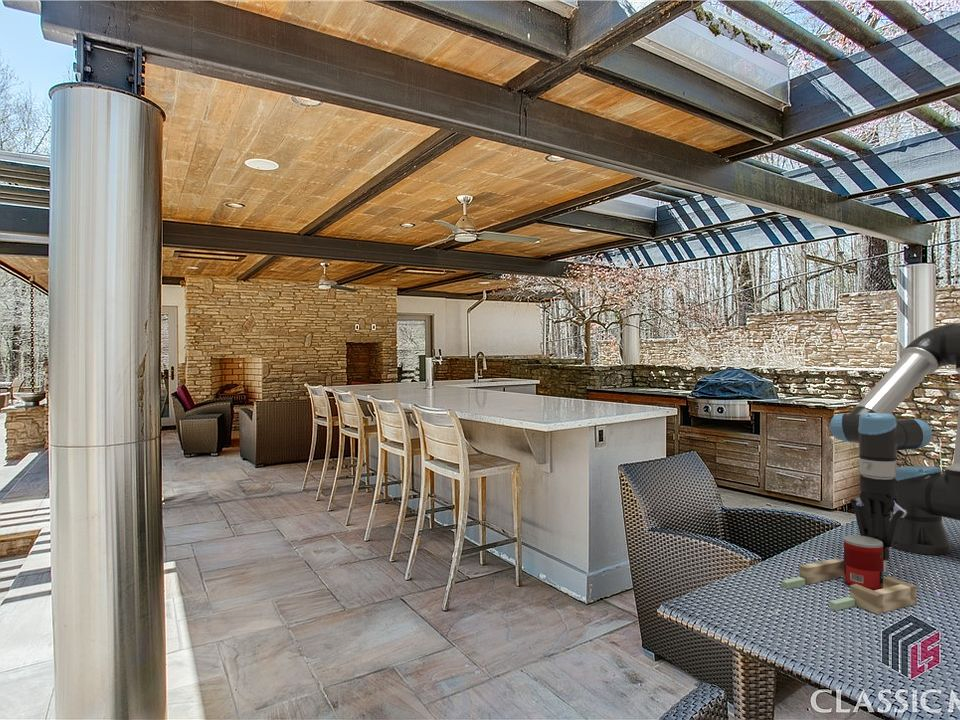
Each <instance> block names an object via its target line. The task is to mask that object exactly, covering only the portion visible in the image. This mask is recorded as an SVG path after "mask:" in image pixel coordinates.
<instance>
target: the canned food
mask: <svg viewBox="0 0 960 720" xmlns="http://www.w3.org/2000/svg"><path fill="white" fill-rule="evenodd" d="M843 561H844V577H843V578H844V582H845V583H846V585H848V586H850V585H854V584H858V585H860V586H863V587H865V588H868V589H871V590H873V591H874V590H879V589H883V578H885V574H884V573H885V572H884V558H883V542H882V541H880V540H878V539H875V538H871V537H866V536H860V535H857V534H856V535H855V534H854V535H853V534H850V535H845V536H843Z"/></svg>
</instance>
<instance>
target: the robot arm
mask: <svg viewBox="0 0 960 720" xmlns="http://www.w3.org/2000/svg"><path fill="white" fill-rule="evenodd" d="M899 353H900V354H899V359H898V361H897V362H896V363H895V364H894V365H893V366H892V367H891V368H890V369H889V371H887V372H886V373H885V375H884V376H882V378H881V379H880V380H878V382H877V383H876V384H875V385H874V386H873V388H871V390H869V392H867V394H866V395H865V396H864V397H862V399H861V400H860V401H859V402H858V403H857V405H856V406H855V407H854V408H853V409H852V410H850V412H849V413H846V412H844V413H838V414H835V415H834V416H833V417H832V418H831V420H830V423H829V429H830V433H831V435H832V436H833V437H834V438H835V439H836V440H840V441H843V442H847V443H848V442H849V443H854V444H855V443H856V444H859V445H858V447H859V454H858V455H859V459H858V460H859V461H858V462H859V463H858V464H859V473H860V474H861V475H860V476H859V490H860V493H859V497H856V498H853V499H852V498H851V499H850V501H849V503H850V505H851V506H852V508H853V509H854V513H855V514H854V515H855V519H856V524H857V525H858V526H857V527H858V531H859V536H866V537H871V538H875V539H878V540H880V541H882V542H883V558H884V573H886V572H887V561H889V560H890V548H891V547H892V548H894V549H897V550H901V551H904V552H909V553H915V554H920V555H930V556H931V555H933V556H938V555H939V556H941V555H947V554H948V555H949V554H950V553H951V550H952V549H951V541H950V540H949V537H948V535H947V532H946V529H945V527H944V525H943V518H947V519H950V520H954V521H959V522H960V400H959V401H958V414H957V423H956V434H955V441H954V442H955V443H954V452H953V453H954V455H953V463H951V464H950V465H948V466H946V467H945V472H944V474H942V473H943V471H942V469H941V467H938V466H931V465H928V466H927V465H911V466H910V465H908V466H897V451H906V450H917V449H922V448H925V447H926V446H928V445H929V444H930V443H931V441H932V439H933V431H932V428H931V426H930V425H929V423H927V422H925V421H924V420H922V419H919V418H904V419H903V418H896V416H895V415H894V414H892V413H893V412H894V411H895V410H896V409H897V408H898V407H899V406H900V405H901V403H902V402H903V401H904V400H905V399H906V398H907V397H908V396H909V395H910V393H912V391H914V389H915V388H916V387H918V385H919V384H920V382H921V381H923V379H925V377H926V376H927V375H931V374H933V373H935V372H937V371H938V369H939V368H942V367H946V366H955V372H956V373H957V374H959V375H960V323H957V324H955V323H954V324H944V325H940V326H937V327H934V328H932V329H930V330H927V331H926V332H924V333H922V334H921V335H919V336H918V337H916V338H915V339H913V340H912V341H911V342H910V343H909V344H907V345H906V346H905V347H904V349H902V350H901V352H899Z"/></svg>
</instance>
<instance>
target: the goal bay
mask: <svg viewBox="0 0 960 720" xmlns="http://www.w3.org/2000/svg"><path fill="white" fill-rule="evenodd" d="M803 586H806V584H805V579H804V578H801V577H800V576H797V577H792V578H788V579H784V580H781V588H783V589H786V590H790V589H793V588H794V589H795V588H798V587H803ZM828 603H829V609H831V610H833V611H836V612H837V611H840V610H844V609H848V608H853V607H856V605H855V599H853V598H850V596H846V597H842V598H837V599H833V600H832V599H831V600H829V602H828Z"/></svg>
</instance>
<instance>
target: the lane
mask: <svg viewBox="0 0 960 720" xmlns="http://www.w3.org/2000/svg"><path fill="white" fill-rule="evenodd" d="M798 567H799V568H798V569H799V577H801V578H804V579H805V586H809V585H811V584H812V583H813V584H817V583H816V582H818V583H821V582H820V581H822V582H826V581H825V580H827V581H830V580H829V579H832V580H834V579H833V578H836V579H838V578H837V577H841V576H844V559H841V558H840V559H839V558H836V557H835V558H832V559H827V560H822V561H817V562H813V563H812V562H811V563H806V564H802V565H799V566H798ZM841 578H842V577H841ZM808 584H809V585H808ZM917 588H918V587H917V585H914V584H912V583H909V582H907V581H904V580H901V579H898V578H895V577H892V576H886V577H885V576H884V578H883V589H879V590H874V591H873V590H871V589H868V588H865V587H863V586H860V585H858V584H854V585H849V597H850V598H853V599H855V607H860V608H861V609H864V610H866V611H868V612H871V613H874V614H876V615H879V614H883V613H887V612H890V611H895V610H897V609H902V608H906V607H910V606H914V605H918V597H917V595H918V594H917V593H918V589H917Z"/></svg>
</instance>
